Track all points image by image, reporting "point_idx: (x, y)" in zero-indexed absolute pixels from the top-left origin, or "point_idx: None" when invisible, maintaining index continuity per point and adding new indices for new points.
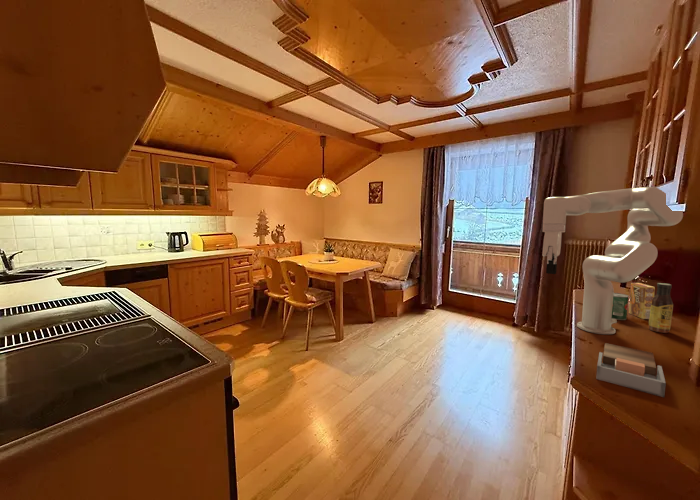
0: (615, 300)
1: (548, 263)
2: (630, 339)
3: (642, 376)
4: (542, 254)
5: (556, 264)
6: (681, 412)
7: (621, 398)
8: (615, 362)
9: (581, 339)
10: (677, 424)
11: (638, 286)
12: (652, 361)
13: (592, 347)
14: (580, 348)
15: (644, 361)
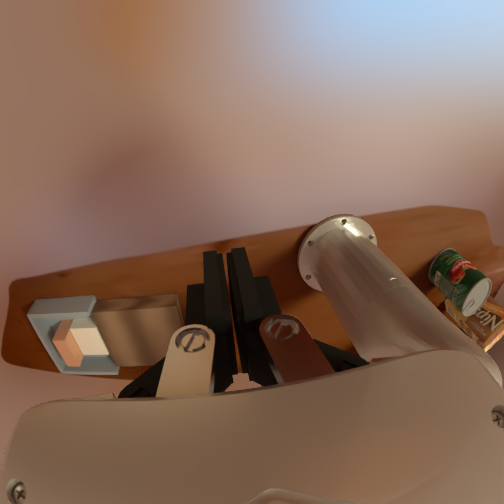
0: (458, 293)
1: (178, 344)
2: (303, 313)
3: (54, 357)
4: (15, 423)
5: (250, 376)
6: (50, 365)
7: (18, 325)
8: (80, 328)
9: (221, 244)
10: (24, 360)
11: (496, 330)
12: (142, 363)
13: (180, 272)
14: (149, 255)
15: (130, 356)
